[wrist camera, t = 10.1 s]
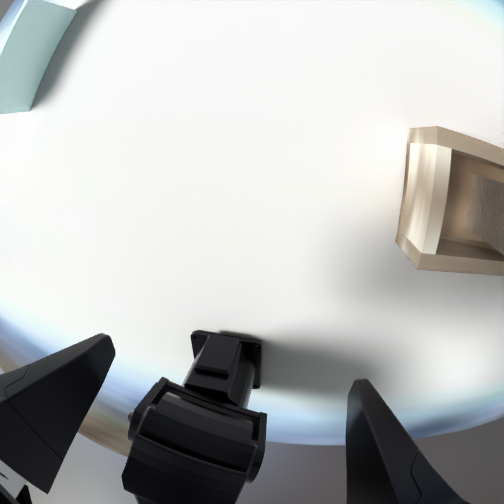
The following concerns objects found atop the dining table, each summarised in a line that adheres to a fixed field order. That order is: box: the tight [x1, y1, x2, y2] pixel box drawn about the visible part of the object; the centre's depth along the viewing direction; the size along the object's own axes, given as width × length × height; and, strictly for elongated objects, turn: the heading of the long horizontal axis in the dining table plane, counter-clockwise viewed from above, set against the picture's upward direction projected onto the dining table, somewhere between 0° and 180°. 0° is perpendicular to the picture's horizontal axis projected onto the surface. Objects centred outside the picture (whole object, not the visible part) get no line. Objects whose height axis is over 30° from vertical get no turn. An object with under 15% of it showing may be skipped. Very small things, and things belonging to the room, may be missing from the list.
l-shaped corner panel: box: [0, 0, 77, 114], centre depth 12 cm, size 12×12×8 cm
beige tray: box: [395, 126, 504, 276], centre depth 13 cm, size 8×15×4 cm, turn 89°
